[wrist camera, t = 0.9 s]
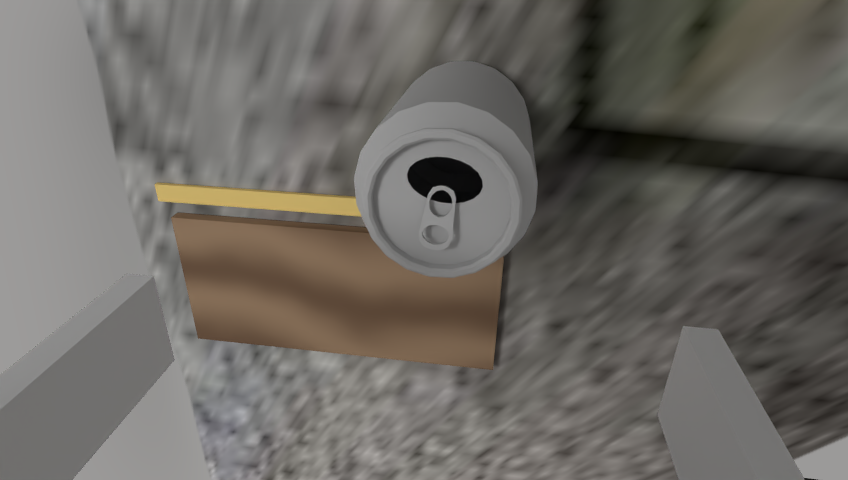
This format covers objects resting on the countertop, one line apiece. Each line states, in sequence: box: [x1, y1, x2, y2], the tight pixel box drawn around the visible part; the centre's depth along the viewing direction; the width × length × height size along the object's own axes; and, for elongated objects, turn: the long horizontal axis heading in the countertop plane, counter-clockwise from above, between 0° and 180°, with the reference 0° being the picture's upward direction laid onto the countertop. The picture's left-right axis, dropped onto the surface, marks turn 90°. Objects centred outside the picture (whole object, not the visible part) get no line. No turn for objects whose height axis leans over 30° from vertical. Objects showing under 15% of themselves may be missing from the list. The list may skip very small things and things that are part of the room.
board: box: [171, 213, 504, 370], centre depth 37 cm, size 10×22×1 cm, turn 89°
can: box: [354, 61, 538, 278], centre depth 25 cm, size 8×8×12 cm
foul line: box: [155, 183, 361, 216], centre depth 34 cm, size 1×24×1 cm, turn 89°
